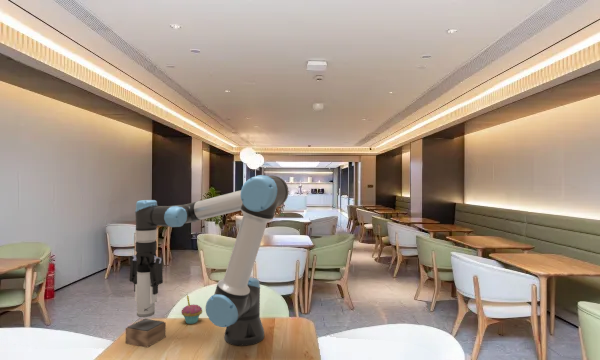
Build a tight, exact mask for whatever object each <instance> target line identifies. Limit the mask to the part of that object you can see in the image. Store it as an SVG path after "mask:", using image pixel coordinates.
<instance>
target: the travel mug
mask: <svg viewBox="0 0 600 360" xmlns="http://www.w3.org/2000/svg"><path fill="white" fill-rule="evenodd" d="M154 264H155V262H153V263H151V264H149V266H150V267H152V268H153V265H154ZM137 269H138V270H137V302H136V316H137V317H139V318H149V317H152V316H154V315H155V303H156V302H155V303H152V304H150V286H151V285H152V283H151V279H150V268H148V264H147V265H137Z"/></svg>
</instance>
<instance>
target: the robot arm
mask: <svg viewBox="0 0 600 360" xmlns="http://www.w3.org/2000/svg"><path fill="white" fill-rule="evenodd" d="M288 186H289V185H288V183H287V182H286V181H285V180H284V179H283V178H281V177H279V176H276V175H265V174H260V175H256V176H252V177H250V178H248V179H247V180H246V181H245V182H244V183H243V185H242V186H241V190H236V191H233V192H229V193H225V194H221V195H217V196H214V197H211V198H207V199H201V200H199V201H195V202H190V203H187V204H186V203H185V204H177V205H168V206H167V205H158V201H157V200H155V199H143V200H138V201H136V203H135V212H134V213H135V241H136V242H135V247H134V248H135V252H136V254H134V255H133V254H132V255H131V256H129V261H130V264H129V265H130V266H129V268H130V269H129V279H128V280H129V282H130V283H133V291H134V296H135V297H134V302H136V303H137V270H138V269H137V265H147V264H148V268H150V279H151V283H152V285H151V286H150V304H152V303H157V300H158V299H157V295H158V294H159V286H160V285H161V284H163V282H164V281H163V280H164V279H163V259H164V258H163V257H159V256H157V254H156V252H157V249H158V245H157V244H158V243H157V242H158V241H157V239H158V237H157V236H158V235H157V233H158V232H157V230H158V228H157V227H158V226H159V227H169V228H170V227H171V228H181V227H183V226H184V224H189V223H195V222H198V221H201V220H206V219H210V218H215V217H218V216H222V215H226V214H232V213H235V212H239V211H241V213H242V219H241V222H240V225H239V228H238V232H237V233H236V234H237V235H236V238H235V241H234V244H233V248H232V251H231V253H230V254H231V255H230V257H229V261H228V263H227V267H226V271H225V272H224V273H225V274H224V276H223V278H222V279H219V280H218V282H217V284H216V287H215V291H214V294H213V295H211V296H210V297H209V298H208V299H207V301H206V304H205V313H206V316H208V320H209V321H210V322H211V323H212V324H213V325H215V326H216V327H218V328H225V331H224V341H225V342H226V343H227V344H230V345H234V346H251V345H255V344H258V343H260V342H261V341H263V340H264V338H265V329H264V326H263V322H262V320H261V317H260V313H261V312H260V311H261V309H260V308H261V304H260V303H261V301H260V299H261V297H260V296H261V293H260V292H261V285H260V283H261V282H260V280H259V279H258V278H256V277H252V276H251V275H252V271H253V268H254V266H255V262H256V258H257V256H258V252H259V249H260V246H261V243H262V240H263V238H264V234H265V231H266V227H267V224H268V223H269V222H270V221H272V220H273V219H274V217H275V213H276V210H277V208H278V207H280V206H282V205H284V203H286V202H287V199H288V197H289V187H288ZM153 262H155V264H154V265H153V268H152V267H150V266H149V264H151V263H153Z"/></svg>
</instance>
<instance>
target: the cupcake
mask: <svg viewBox="0 0 600 360" xmlns="http://www.w3.org/2000/svg"><path fill="white" fill-rule="evenodd" d="M186 298H187V299H186V300H187V305H186V306H184V307H183V308H182V309H181V315H182V316H183V318H184V320H185V323H186V324H187V325H188V324H189V325H192V324H193V325H194V324H196V323H198V322H199V317H200V315H202V314H203V309H202V307H201V306H200V305H198V304H191V303H190V297H189V294H186Z"/></svg>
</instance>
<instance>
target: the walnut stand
mask: <svg viewBox="0 0 600 360" xmlns="http://www.w3.org/2000/svg"><path fill="white" fill-rule="evenodd" d="M166 324H167V323H166V322H165V321H163V320H157V319H149V318H144V319H141V320H138V321H137V322H134V323H133V324H131V325H129V326H127V327H125V344H127V345H133V346H137V347H144V348H149V347H151V346H152V345H154V344H156V343H158V342H160V341H161V340H163V339H165V338H166V333H167V332H166V329H167V328H166V327H167V325H166Z"/></svg>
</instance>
